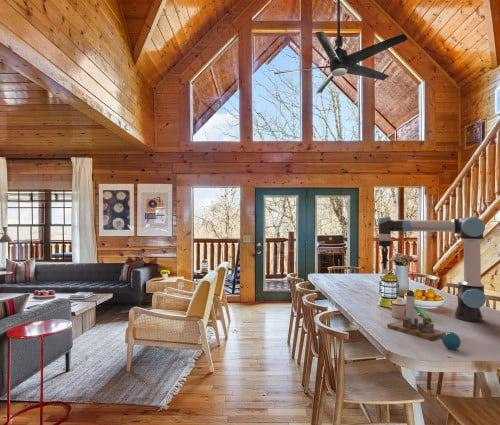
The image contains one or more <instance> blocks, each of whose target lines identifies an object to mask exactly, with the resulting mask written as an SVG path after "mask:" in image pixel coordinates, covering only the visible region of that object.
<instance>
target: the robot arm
mask: <svg viewBox="0 0 500 425" xmlns="http://www.w3.org/2000/svg"><path fill="white" fill-rule="evenodd" d="M485 230H486V224H485V223H484V221H483V220H482V219H481V218H479V217H476V216H468V217H463V218H461V217H460V218H452V219H451V220H450V219H449V220H448V219H447V220H445V219H444V220H441V219H440V220H439V219H438V220H437V219H434V220H432V219H431V220H428V219H427V220H425V219H424V220H422V219H421V220H418V219H415V220H414V219H412V220H410V219H395V220H394V219H391V217H389V216H380V217H379V218H378V234H377V237H378V246H379V247H382V248H381V255H382V257H381V258H382V260H381V264H382V266H381V267H382V269H381V271H382V274H383V275H388V262H389V259H388V255H389V254H388V253H389V249H388V247H391V246H392V234H391V233H392V232H398V233H399V232H401V233H403V232H404V233H405V232H406V233H407V232H429V233H430V232H433V233H434V232H437V233H438V232H439V233H441V232H442V233H452V234H455V235H456V234H459V235H460V240H461V241H463V281H459V282H457V286H456V288H457V306H456V309H455V311H454V318H456V319H458V320H462V321H464V322H465V321H466V322H472V323H473V322H477V323H478V322H483V321H484V320H483V318H484V317H483V314H482V311H481V309H480V308H481V307H483V306H484V305H485V303H486V301H487V296H486V294H485V284H483V283H482V276H481V274H482V272H481V271H482V268H481V267H482V266H481V265H482V264H481V263H482V262H481V260H482V259H481V257H482V256H481V242H482V241H483V240H484V232H485Z"/></svg>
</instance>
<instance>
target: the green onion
mask: <svg viewBox="0 0 500 425" xmlns="http://www.w3.org/2000/svg"><path fill="white" fill-rule="evenodd" d="M414 311H417V312H418V313H416V315H417V316H418V315H419V316H421V317H422V318H425V317H426V318H428V319H429V323H432V318H431V317H430V316H428V315H427V314H426V313H425V312H424V310H422V308H421V306H419V307H418V306H417V305H415V304H414Z"/></svg>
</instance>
